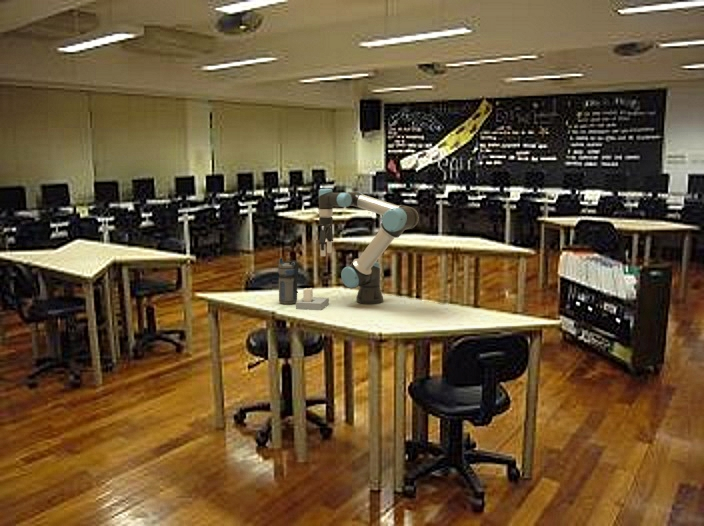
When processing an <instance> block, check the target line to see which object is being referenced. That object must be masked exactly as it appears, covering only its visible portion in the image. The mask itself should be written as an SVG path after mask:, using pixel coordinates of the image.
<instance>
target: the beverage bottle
mask: <svg viewBox="0 0 704 526" xmlns="http://www.w3.org/2000/svg"><path fill="white" fill-rule="evenodd" d="M299 268H300V263H299V261H297V260H287V261H283V258H282V257H281V258H279V259H278V271H277V272H278V275H279V276H278V301H279V303H280V304H282V305H293V303H294V304H296V302H297V301H298V294H299V292H298V278H299V277H298V276H299V271H300V269H299Z"/></svg>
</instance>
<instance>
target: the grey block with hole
mask: <svg viewBox="0 0 704 526" xmlns="http://www.w3.org/2000/svg"><path fill="white" fill-rule="evenodd" d="M329 301H330V298H329V297H320V296H319V297H315V296H313V301H312V302H304V299H303V297H302V298H300V299H299V300H297V302H296V303H295V310H307V309H309V311H321V310H323V309H324V308H326V307H327V306H328V305H329V304H330V303H329ZM325 306H326V307H325Z"/></svg>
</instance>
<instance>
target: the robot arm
mask: <svg viewBox="0 0 704 526" xmlns="http://www.w3.org/2000/svg"><path fill="white" fill-rule="evenodd" d="M350 206H351V207H352V206H353V207H356V208H359V209H362V210H364V211H365V210H366V211H369V212H372V213H375V214H378V215H380V216H382V219H381V223H380V226H381V227H380V229H379V230H378V232H377V233H376V235H375V236H373V237H374V238H372V240H371V241H370V243H369V244H368V245H367V246H366V248H365V249H364V251H363V252H362V253H361V255H359V257H358V258H354V259H353V261H352V262H351V263H350V264H349V266H345V267H344V268H343V269H342V270H341V273H340V276H341V281H342V283H343V284H344V286H345V287H347V288H350V289H351V288H354V289H355V288H358V287H359V289H358V291H357V295H356V298H355V299H356V300H355V301H356V303H359V304H362V305H364V304H365V305H375V304H376V305H377V304H381V303H383V302H384V296H383V293H382V290H381V265H380V264H381V263H380V262H379V261H378V260H379V258H380V257H382V255H383V254H384V252H385V251H386V250H387V248H388V247H390V244H392V242H393V241H394V240H395V239H397V238H400V237H401V236H402V234H403V233H404V231H405V230H410V229H413V228H415V227H416V226H417V225H418V223H419V221H420V217H419V213H418V211H417V210H416V209H415V208H414V207H410V206H408V205H403V204H400V205H397V204H394V203H391V202H387V201H385V200H381V199H378V198H376V197H375V198H374V197H372V196H369V195H365V194H364V193H362V192H360V191H351V192H350V191H347V192H333V189H332V188H320V189H319V190H318V211H317V212H318V216H319V219H318V223H319V224H320V225H321V226H320V233H319V239H318V241H319V242H318V245H320V257H326V254H332V253H333V242H334V238H333V237H334V236H333V230H332V224H333V220H334V219H333V209H334V207H338V208H339V207H342V208H346V207H350Z"/></svg>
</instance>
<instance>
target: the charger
mask: <svg viewBox="0 0 704 526" xmlns="http://www.w3.org/2000/svg"><path fill="white" fill-rule="evenodd" d="M313 291H314V290H313V288H312V287H310V288H307V287H306V288H303V291H302V292H303V293H302V295H303V296H302V298H303V299H304V302H312V301H313V297H314V296H313V295H314V293H313Z"/></svg>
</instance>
